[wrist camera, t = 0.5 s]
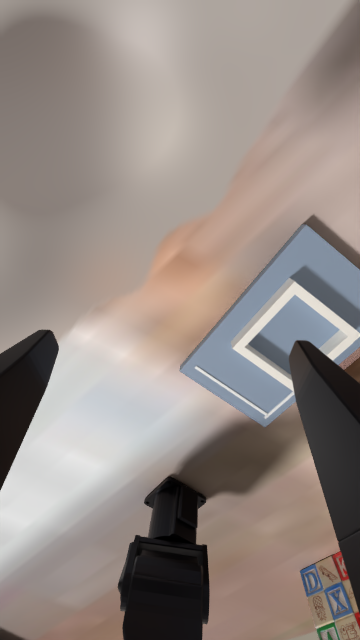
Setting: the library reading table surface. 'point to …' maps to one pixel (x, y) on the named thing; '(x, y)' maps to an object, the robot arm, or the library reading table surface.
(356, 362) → the walnut column
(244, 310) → the blueprint board
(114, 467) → the library reading table surface
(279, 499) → the library reading table surface
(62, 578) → the library reading table surface
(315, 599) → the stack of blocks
